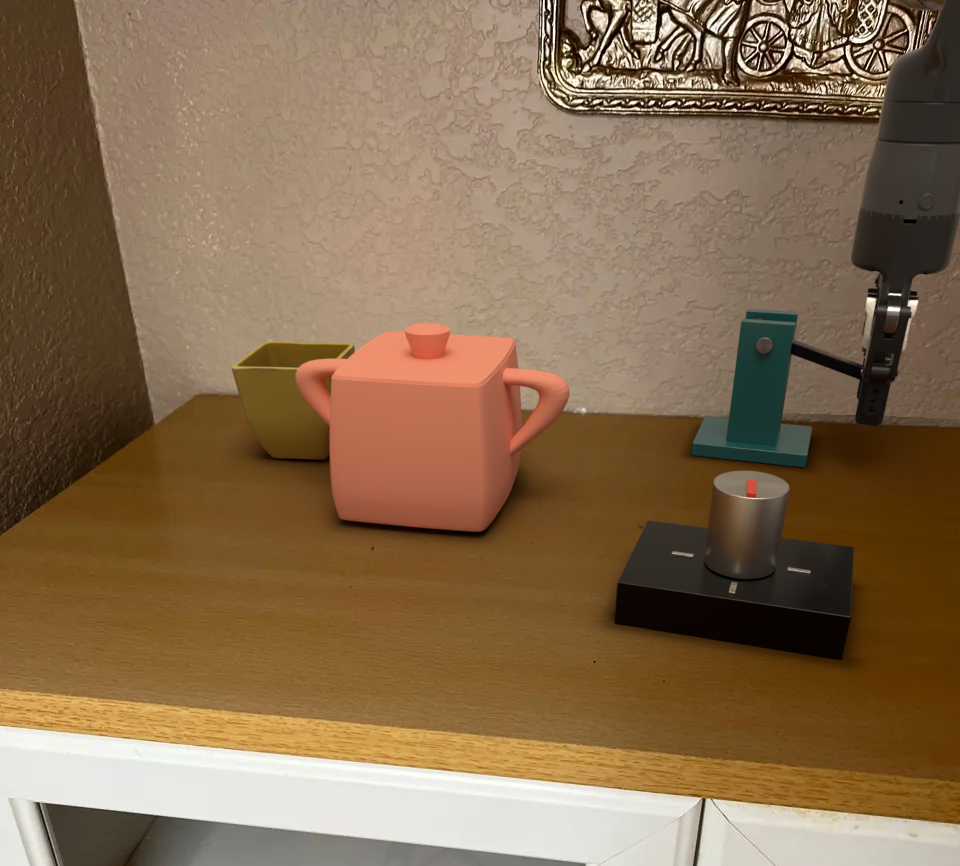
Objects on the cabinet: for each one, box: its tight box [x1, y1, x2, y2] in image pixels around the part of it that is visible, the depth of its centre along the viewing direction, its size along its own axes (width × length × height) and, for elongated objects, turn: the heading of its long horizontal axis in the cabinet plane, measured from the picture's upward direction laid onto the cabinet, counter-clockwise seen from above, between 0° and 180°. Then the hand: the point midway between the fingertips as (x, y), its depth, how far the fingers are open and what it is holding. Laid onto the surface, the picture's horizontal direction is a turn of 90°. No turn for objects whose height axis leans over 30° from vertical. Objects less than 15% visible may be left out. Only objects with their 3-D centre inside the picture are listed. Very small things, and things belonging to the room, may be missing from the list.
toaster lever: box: [758, 316, 884, 381], centre depth 85 cm, size 12×6×2 cm, turn 71°
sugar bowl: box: [295, 322, 570, 533], centre depth 80 cm, size 20×22×14 cm
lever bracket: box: [690, 308, 813, 468], centre depth 88 cm, size 10×8×12 cm
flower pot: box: [231, 341, 356, 461], centre depth 88 cm, size 9×9×9 cm
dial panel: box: [614, 519, 855, 660], centre depth 64 cm, size 14×10×3 cm
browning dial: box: [704, 470, 790, 579], centre depth 62 cm, size 5×5×6 cm
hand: (868, 411), depth 86 cm, fingers closed on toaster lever, 6 cm apart
